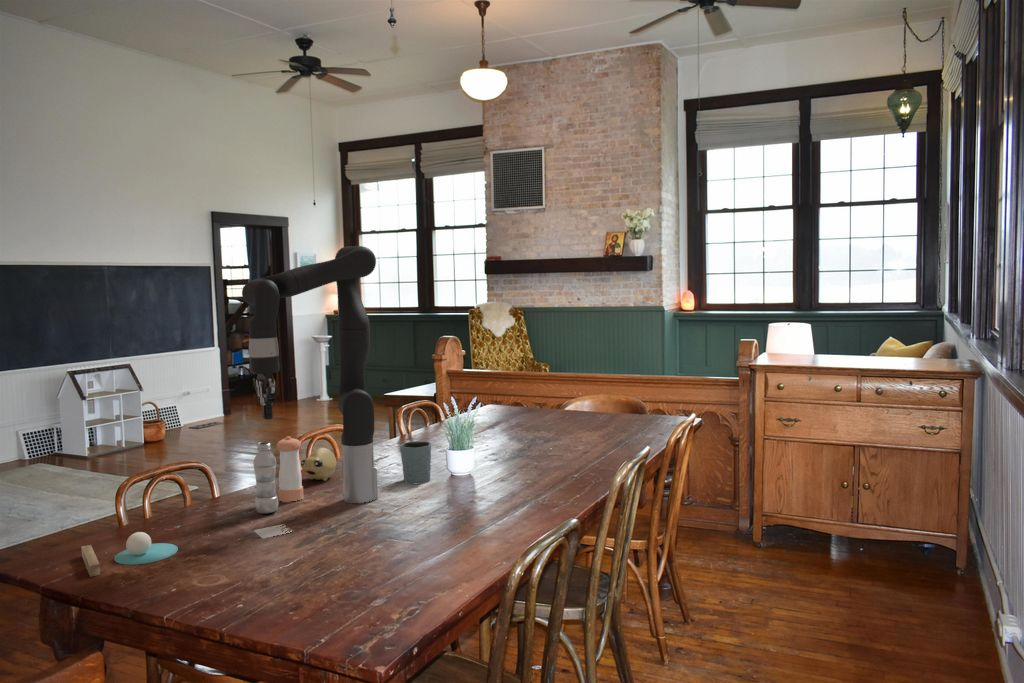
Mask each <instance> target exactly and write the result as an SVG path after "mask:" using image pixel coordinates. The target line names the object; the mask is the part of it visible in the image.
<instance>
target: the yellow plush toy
mask: <svg viewBox="0 0 1024 683" xmlns="http://www.w3.org/2000/svg"><path fill="white" fill-rule="evenodd" d="M300 465H301V466H300V468H301V470H303V471H304V472H305V473H306V475H308V477H309V479H310V480H314V479H315V480H322V481H324V482H327V480H328V477H330V476H331V475H334V474H335V472H336V471H335V469H336V467H337V458H336V456H335V454H334V453H333V452H332V451H331V450H330V449H329V448H328V447H327V448H326V447H318V448H317V449H315V450H314V451H313V452H312V453H311V454H310V455H309V456H308V457H306V458H305V459H302V460H301V462H300Z"/></svg>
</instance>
